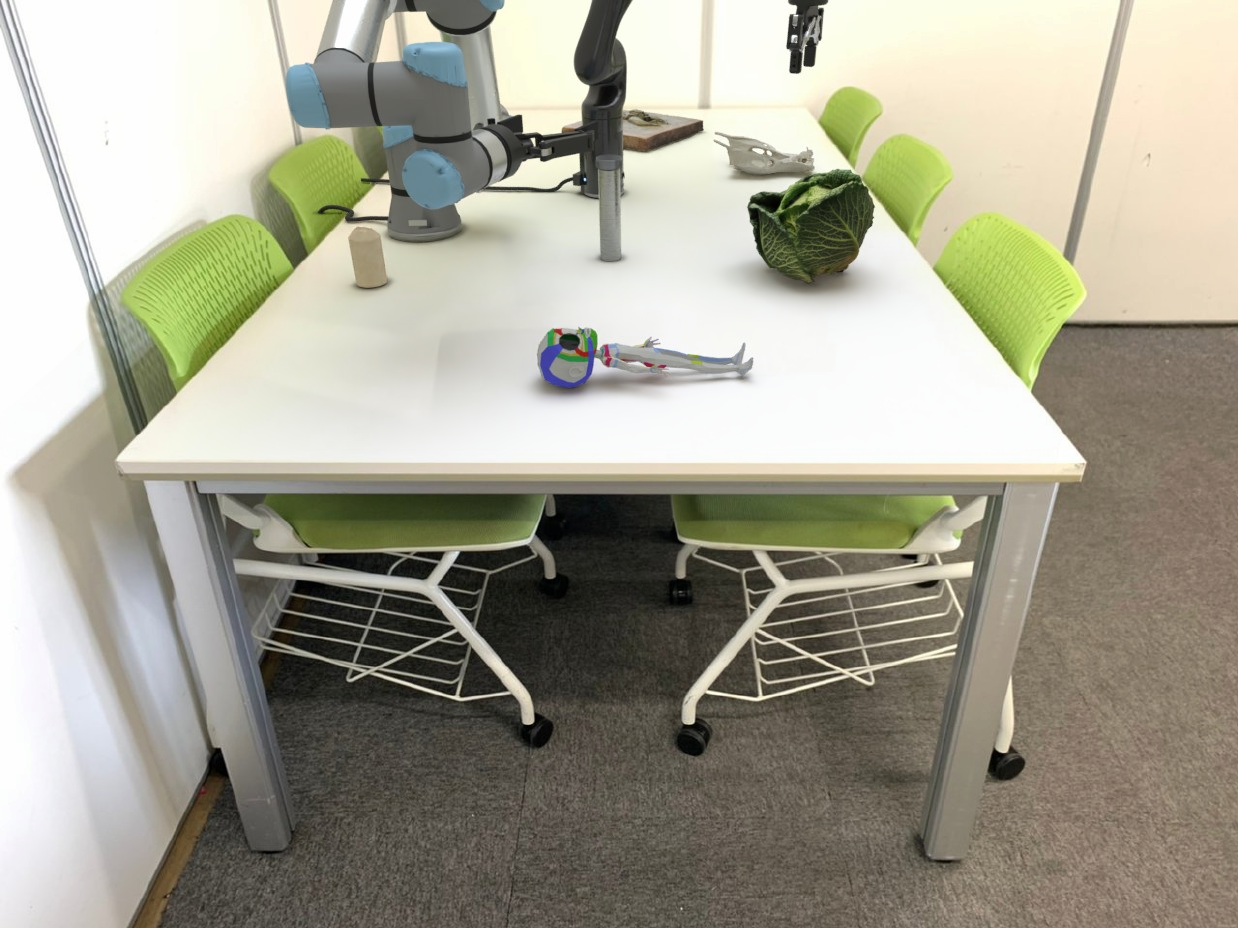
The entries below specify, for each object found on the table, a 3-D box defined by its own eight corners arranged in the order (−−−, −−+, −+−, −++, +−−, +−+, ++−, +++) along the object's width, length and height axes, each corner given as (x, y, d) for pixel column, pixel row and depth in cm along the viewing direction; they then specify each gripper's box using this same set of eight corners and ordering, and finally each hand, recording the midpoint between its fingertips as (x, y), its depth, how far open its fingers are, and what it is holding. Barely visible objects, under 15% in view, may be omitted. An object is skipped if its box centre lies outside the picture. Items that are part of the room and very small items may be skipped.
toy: (760, 356, 123) (541, 338, 118) (747, 410, 127) (536, 395, 123) (743, 326, 131) (539, 309, 127) (732, 378, 136) (534, 363, 131)
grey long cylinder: (623, 260, 170) (622, 161, 161) (602, 262, 170) (600, 163, 160) (618, 253, 174) (617, 156, 164) (598, 255, 173) (596, 158, 163)
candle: (393, 278, 163) (384, 224, 158) (377, 289, 159) (367, 234, 154) (367, 275, 165) (358, 222, 160) (350, 286, 160) (340, 231, 155)
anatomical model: (715, 128, 226) (815, 127, 222) (715, 165, 231) (813, 164, 227) (711, 142, 214) (818, 141, 210) (711, 181, 219) (815, 181, 215)
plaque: (647, 125, 237) (559, 112, 252) (647, 153, 241) (560, 139, 256) (706, 107, 258) (622, 97, 273) (705, 133, 262) (622, 121, 277)
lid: (624, 169, 161) (624, 159, 160) (598, 171, 160) (598, 161, 159) (619, 162, 165) (619, 153, 164) (593, 164, 164) (593, 155, 163)
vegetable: (773, 300, 170) (724, 207, 162) (854, 244, 171) (810, 148, 164) (823, 314, 152) (771, 210, 144) (914, 251, 153) (867, 144, 145)
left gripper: (417, 175, 133) (492, 144, 149) (566, 192, 124) (629, 157, 140) (410, 122, 129) (488, 96, 145) (563, 136, 120) (628, 107, 136)
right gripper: (802, -27, 174) (795, 63, 182) (778, -22, 163) (771, 74, 172) (840, -26, 171) (831, 66, 179) (818, -21, 160) (809, 77, 169)
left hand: (557, 126), depth 143 cm, fingers open, 13 cm apart
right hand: (802, 70), depth 176 cm, fingers open, 8 cm apart
